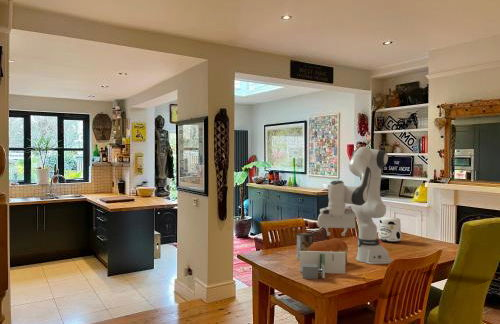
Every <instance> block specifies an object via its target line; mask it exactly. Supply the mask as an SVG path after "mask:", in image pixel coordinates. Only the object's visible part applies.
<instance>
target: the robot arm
mask: <svg viewBox="0 0 500 324" xmlns="http://www.w3.org/2000/svg"><path fill="white" fill-rule="evenodd" d="M388 160H389V155H388V153H387V151H386V150H383V149H375V148H369V147H367V146H360V147H358V148H357V149H355V150H354V151H352V154H351V159H350V160H349V164H348V169H349V171H350V172H351V174H352V175H354V176H356V177H358V178H360V183H359V184H358V186H346V185H345V183H344V181H343V180H332V181H330V182H329V185H328V192H327V193H328V194H327V195H328V196H327V197H328V203H327V204H328V205H327V206H326V207H323V208H319V214H318V217H317V222H316V223H317V227H318V228H320V229H321V228H324V229H325V230H326V236H327V237H330V236H331V232H329V228H330V229H343V232H341V236H342V237H346V233H347V231H348V229H355V228H356V220H357V224H358V237H357V254H356V257H355V260H356V261H358V262H360V263H365V264H367V265H368V264H369V265H382V264H383V265H384V264H386V265H387V264H390V262H391V261H393V262H394V260H393V259H392V258H391V257H390V252H389V251H388V250H387V249H386V248H385V247H384V246H383V245H381V244H383V241H382V240H380V239H379V238H378V227H377V225H376V224H375V222H374V220H373V219H380V218H382V217H385V215H386V213H387V207H386V205H385V204H384V202H383V200H382V197H381V192H380V191H381V181H382V169H383V168H384V167H385V166H387V164H388ZM346 204H348V205H350V208H351V210H346V206H345V205H346Z"/></svg>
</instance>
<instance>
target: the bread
mask: <svg viewBox="0 0 500 324" xmlns="http://www.w3.org/2000/svg"><path fill="white" fill-rule="evenodd" d="M307 251H322V252H345V265H346V264H348V252H349V248H348V245H347V243H346V242H345V241H344V240H342V239H341V238H337V237H332V238H330V239H325V240H321V241H313V244H311V245H310V246H309V247H308V250H307Z"/></svg>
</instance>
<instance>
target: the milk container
mask: <svg viewBox="0 0 500 324" xmlns="http://www.w3.org/2000/svg"><path fill="white" fill-rule="evenodd" d="M401 227H402V226H401V218H399V217H392V216H383V217H382V218H379V229H378V231H377V238H378V239H379V240H381V241H382V242H387V243H399V242H400V241H402V230H401Z"/></svg>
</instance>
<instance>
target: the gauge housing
mask: <svg viewBox="0 0 500 324" xmlns="http://www.w3.org/2000/svg"><path fill="white" fill-rule="evenodd" d="M320 254H322V263H323V264H324V266H325V274H343V275H345V274H346V264H345V252H322V251H300V259H299V273H301V276H302V279H304V280H305V279H306V280H307V279H308V280H318V277H319V275H318V274H321V273H320V272H318V269H320ZM302 269H303V271H302Z"/></svg>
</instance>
